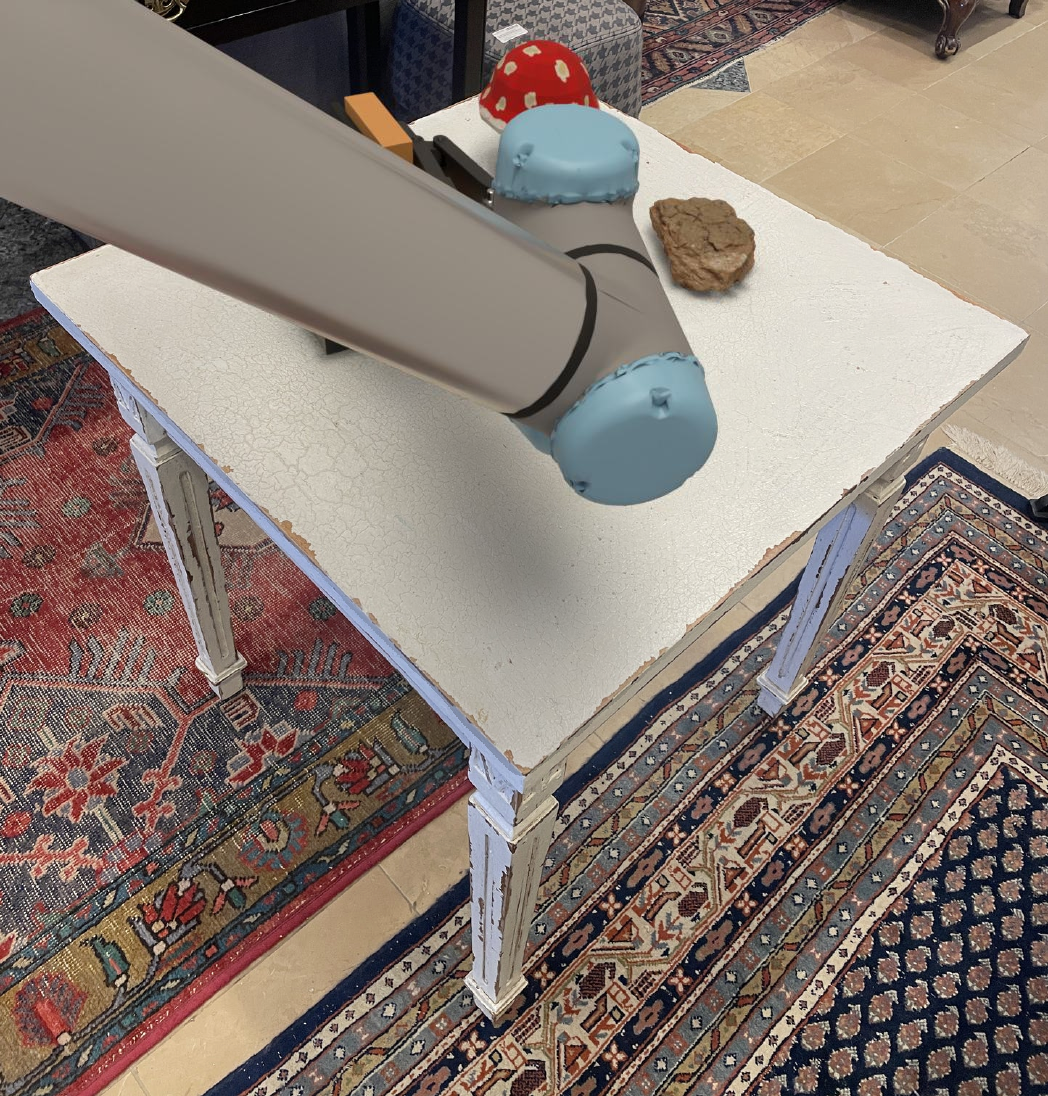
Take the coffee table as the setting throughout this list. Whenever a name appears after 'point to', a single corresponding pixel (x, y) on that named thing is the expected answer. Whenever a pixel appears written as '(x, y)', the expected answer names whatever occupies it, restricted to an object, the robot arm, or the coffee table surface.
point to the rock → (704, 242)
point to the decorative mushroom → (534, 82)
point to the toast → (379, 124)
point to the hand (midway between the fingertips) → (353, 115)
